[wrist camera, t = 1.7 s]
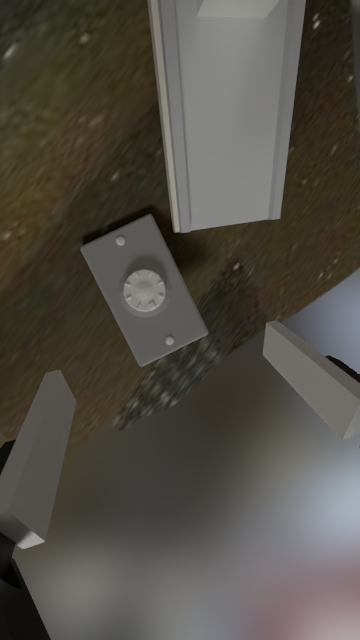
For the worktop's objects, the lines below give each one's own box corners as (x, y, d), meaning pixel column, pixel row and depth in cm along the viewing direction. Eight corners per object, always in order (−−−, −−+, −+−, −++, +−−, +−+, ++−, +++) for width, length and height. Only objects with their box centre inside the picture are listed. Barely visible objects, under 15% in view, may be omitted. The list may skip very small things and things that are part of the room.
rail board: (172, 231, 25) (202, 246, 16) (136, -97, 15) (164, -540, 6) (272, 216, 27) (345, 223, 19) (302, -79, 17) (504, -386, 8)
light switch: (150, 207, 22) (211, 334, 23) (154, 229, 28) (202, 329, 29) (74, 243, 22) (138, 370, 23) (94, 258, 28) (145, 358, 29)
